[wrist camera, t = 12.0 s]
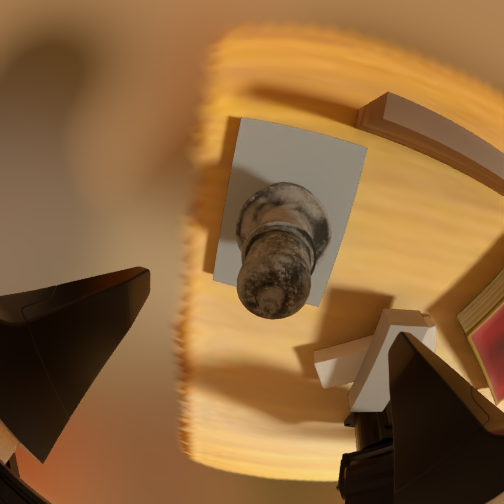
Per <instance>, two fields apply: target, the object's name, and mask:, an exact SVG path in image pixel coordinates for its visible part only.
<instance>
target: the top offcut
mask: <svg viewBox="0 0 504 504" xmlns="http://www.w3.org/2000/svg"><path fill="white" fill-rule="evenodd" d="M428 328H429V326H428V325H427V323H426V321H425V320H424V318H423V316H422V314H421V313H420V311H415V310H401V309H389V308H383V311H382V313H381V316H380V319H379V322H378V325H377V327H376V330H375V333H374V335H373V338H372V341H371V343H370V346H369V348H368V351H367V353H366V356H365V358H364V360H363V363H362V365H361V367H360V370H359V372H358V374H357V376H356V378H355V381H354V383H353V385H352V387H351V389H350V391H349V393H348V400H349V409H350V412H382V411H383V410H384V408H385V407H386V405H387V403H388V402H389V400H390V393H389V367H388V351H389V349H390V347H391V345H392V343H393V342H394V340H395V338H396V336H397V335H398V333H399V332H401V331H403V332H409V333H411V334H412V335H414V336H415V337H416V338H417V339H418V340H420V341H421V342H422V341H423V338H424V336H425V334H426V332H427V330H428Z"/></svg>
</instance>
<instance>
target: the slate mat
mask: <svg viewBox="0 0 504 504" xmlns="http://www.w3.org/2000/svg"><path fill="white" fill-rule="evenodd" d="M366 152H367V148H366V147H363V146H360V145H357V144H354V143H351V142H347V141H344V140H341V139H337V138H334V137H330V136H327V135H323V134H319V133H315V132H311V131H307V130H303V129H299V128H295V127H290V126H286V125H281V124H276V123H271V122H266V121H261V120H256V119H250V118H244V117H241V122H240V127H239V132H238V137H237V142H236V147H235V152H234V157H233V163H232V168H231V173H230V179H229V184H228V190H227V195H226V201H225V206H224V212H223V218H222V224H221V230H220V236H219V242H218V248H217V255H216V261H215V268H214V274H213V280H214V281H217V282H221V283H225V284H228V285H232V286H236V287H237V277H238V274H239V271H240V269H241V267H242V261H241V251H240V249H239V247H238V243H237V239H236V221H237V218H238V214H239V211H240V210H241V208H242V207H243V205H244V204H245V202H246V201H247V200H248V199H249V198H250V197H251V196H252V195H253V194H255V193H256V192H258V191H260V190H262V189H264V188H266V187H269V186H271V185H273V184H278V183H283V182H285V183H294V184H297V185H300V186H303V187H304V188H306V189H307V190H309V191H310V192H311V193H312V194H313V195H314V196H315V197H317V198H318V199H319V201H320V202H321V203H322V204H323V206H324V207H325V208H326V210H327V213H328V215H329V217H330V220H331V226H332V238H331V245H330V247H329V249H328V251H327V254H326V256H325V257H324V258H323V259H322V261H321V262H320V263H319V264H318V265H317V266H316V267H315V270H314V272H313V274H312V275H311V289H310V294H309V297H308V299H307V301H306V303H305V304H308V305H313V306H317V307H319V304H320V302H321V299H322V296H323V294H324V291H325V288H326V285H327V283H328V280H329V277H330V274H331V271H332V269H333V266H334V263H335V260H336V257H337V254H338V251H339V248H340V245H341V242H342V238H343V235H344V232H345V229H346V226H347V222H348V219H349V216H350V212H351V209H352V205H353V202H354V198H355V195H356V191H357V187H358V184H359V180H360V176H361V172H362V168H363V164H364V160H365V156H366Z"/></svg>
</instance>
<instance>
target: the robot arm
mask: <svg viewBox="0 0 504 504" xmlns="http://www.w3.org/2000/svg"><path fill="white" fill-rule="evenodd" d="M149 293H150V271H149V269H146V268H143V267H134V268H130V269H125V270H121V271H117V272H112V273H107V274H103V275H99V276H95V277H90V278H85V279H81V280H77V281H73V282H68V283H64V284H60V285H57V286H51V287H47V288H42V289H38V290H33V291H27V292H22V293H15V294H9V295H4V296H0V504H51V503H50V502H49V501H48V500H46V499H45V498H44V497H42V496H41V495H40V494H39V493H37V492H36V491H35V490H33V489H32V488H31V487H30V486H29V485H27V484H26V483H25V482H24V481H23V480H22V479H20V475H19V471H18V466H17V461H16V456H15V453H14V451H15V450H16V449H17V447H18V446H19V445H21V446H22V447H23V448H24V449H25V450H26V451H27V452H29V453H30V454H31V455H32V456H33V457H35V458H36V459H37V460H38V461H40V462H41V463H42V464H43V463H44V461H45V460H46V458H47V456H48V454H49V453H50V451H51V449H52V448H53V446H54V444H55V442H56V441H57V439H58V437H59V436H60V434H61V432H62V431H63V429H64V427H65V425H66V424H67V422H68V421H69V419H70V417H71V415H72V414H73V412H74V411H75V409H76V408H77V406H78V404H79V403H80V401H81V399H82V398H83V397H84V395H85V393H86V392H87V390H88V389H89V387H90V386H91V384H92V383H93V381H94V380H95V378H96V377H97V375H98V374H99V372H100V371H101V369H102V368H103V366H104V365H105V363H106V362H107V360H108V359H109V358H110V356H111V355H112V353H113V352H114V350H115V349H116V347H117V346H118V345H119V343H120V342H121V340H122V339H123V337H124V336H125V335H126V333H127V332H128V331H129V329H130V328H131V326H132V324H133V323H134V321H135V319H136V317H137V315H138V314H139V312H140V310H141V308H142V306H143V305H144V303H145V301H146V299H147V298H148V296H149ZM388 367H389V393H390V400H389V402H388V403H387V405H386V407H385V408H384V410H383V411H382V412H352V413H351V415H350V416H349V417H348V418H347V419H346V421H345V422H344V426H347V427H355V435H356V448H357V451H356V452H352V453H345V454H343V455H342V460H341V465H340V473H339V480H338V483H337V487H336V488H337V490H338V491H340V493H341V496H342V498H343V500H345V504H504V412H502V411H501V410H500V409H499V408H497V407H496V406H495V405H494V404H492V403H491V402H490V401H489V400H488V399H486V398H485V397H484V396H483V395H482V394H481V393H480V392H478V391H477V390H476V389H475V388H474V387H473V386H472V385H470V384H469V383H468V382H467V381H466V380H465V379H464V378H463V377H462V376H460V375H459V374H458V373H457V372H456V371H455V370H454V369H452V368H451V367H450V366H449V365H448V364H447V363H445V362H444V361H443V360H442V359H441V358H440V357H438V356H437V355H436V354H435V353H434V352H433V351H431V350H430V349H429V348H428V347H427V346H425V345H424V344H423V343H422V342H421V341H420V340H418V339H417V338H416V337H415V336H414V335H412V334H411V333H409V332H403V331H401V332H399V333H398V335H397V336H396V338H395V340H394V342H393V343H392V345H391V347H390V349H389V351H388Z"/></svg>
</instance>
